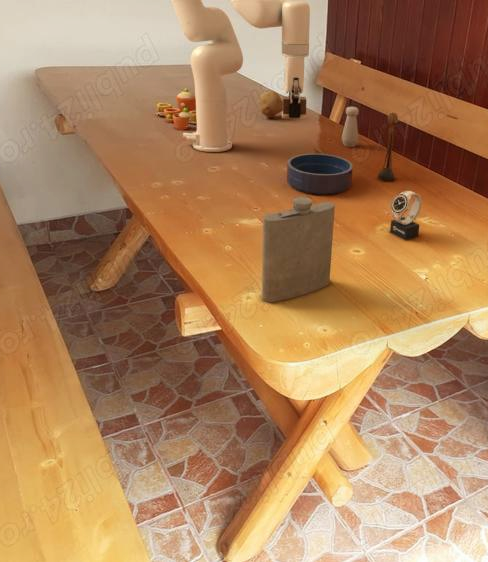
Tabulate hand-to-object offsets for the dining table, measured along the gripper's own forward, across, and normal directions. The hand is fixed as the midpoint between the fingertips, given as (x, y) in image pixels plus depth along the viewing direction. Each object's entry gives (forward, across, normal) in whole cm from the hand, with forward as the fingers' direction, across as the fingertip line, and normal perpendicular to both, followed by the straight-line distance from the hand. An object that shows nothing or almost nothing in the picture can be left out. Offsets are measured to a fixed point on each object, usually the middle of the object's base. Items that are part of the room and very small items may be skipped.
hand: (294, 114), depth 186 cm
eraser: (+1, 0, 0) cm, 1 cm away
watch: (+18, +45, +24) cm, 54 cm away
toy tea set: (+16, -51, -36) cm, 65 cm away
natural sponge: (+16, -59, -4) cm, 61 cm away
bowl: (+17, +11, +7) cm, 21 cm away
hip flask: (+18, +73, -4) cm, 75 cm away
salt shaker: (+17, -27, +21) cm, 38 cm away
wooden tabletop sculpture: (+17, +6, +28) cm, 33 cm away
